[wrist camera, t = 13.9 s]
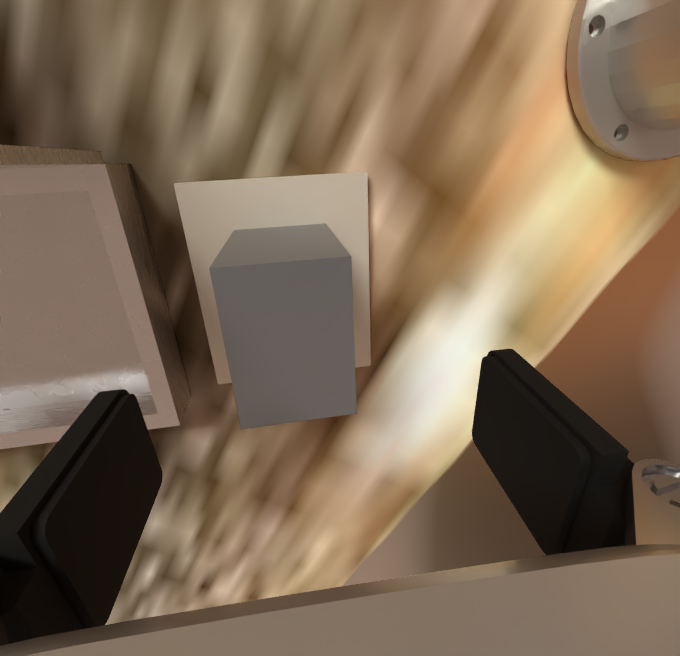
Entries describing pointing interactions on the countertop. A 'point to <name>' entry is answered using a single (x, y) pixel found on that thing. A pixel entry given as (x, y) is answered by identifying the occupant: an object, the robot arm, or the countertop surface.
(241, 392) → the block
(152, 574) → the countertop surface
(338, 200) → the flat beige panel
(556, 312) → the countertop surface
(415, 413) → the countertop surface
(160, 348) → the case
